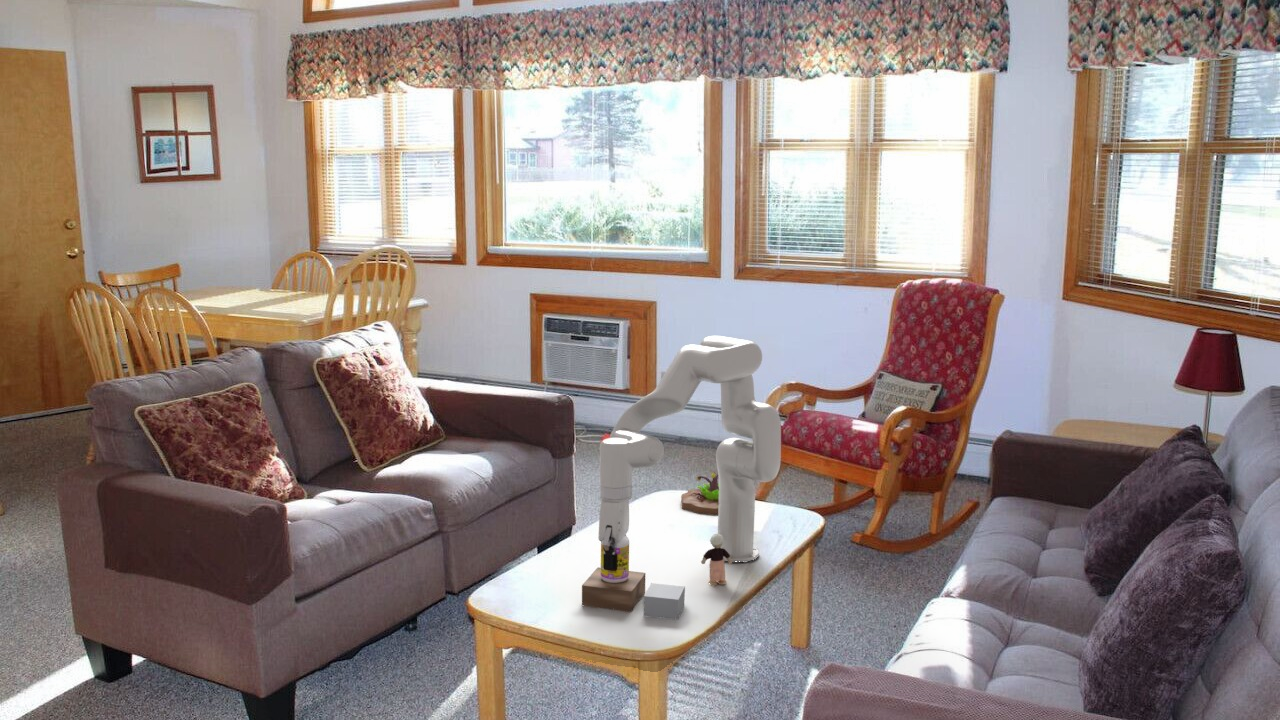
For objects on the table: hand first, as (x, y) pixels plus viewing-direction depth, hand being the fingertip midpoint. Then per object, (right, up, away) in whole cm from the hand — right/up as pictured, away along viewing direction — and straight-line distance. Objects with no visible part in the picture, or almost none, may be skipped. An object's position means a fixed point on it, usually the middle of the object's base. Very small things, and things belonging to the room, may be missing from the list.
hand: (615, 563), depth 249 cm
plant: (+28, +3, +75) cm, 80 cm away
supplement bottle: (0, -4, +1) cm, 4 cm away
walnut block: (0, -9, +1) cm, 9 cm away
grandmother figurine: (+25, -7, +12) cm, 28 cm away
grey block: (+11, -10, -5) cm, 16 cm away
